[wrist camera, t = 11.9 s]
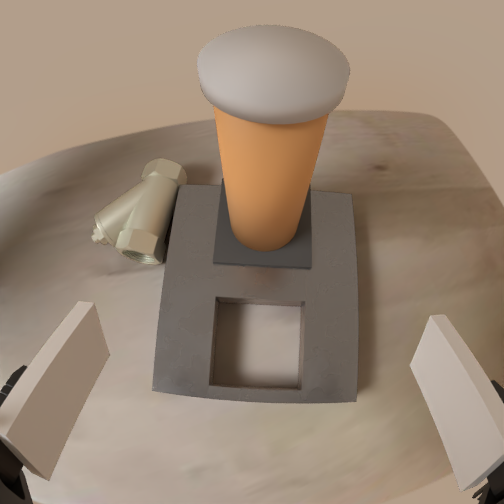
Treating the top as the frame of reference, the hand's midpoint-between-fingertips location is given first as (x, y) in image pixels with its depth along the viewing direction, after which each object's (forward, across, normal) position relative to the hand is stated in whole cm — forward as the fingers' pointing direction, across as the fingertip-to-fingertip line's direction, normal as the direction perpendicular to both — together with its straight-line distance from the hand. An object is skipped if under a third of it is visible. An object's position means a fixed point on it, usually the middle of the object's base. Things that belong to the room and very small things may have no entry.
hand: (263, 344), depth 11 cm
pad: (+14, 0, 0) cm, 14 cm away
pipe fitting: (+16, -10, -1) cm, 19 cm away
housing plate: (+11, 0, -5) cm, 12 cm away
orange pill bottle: (+13, 0, 0) cm, 13 cm away
